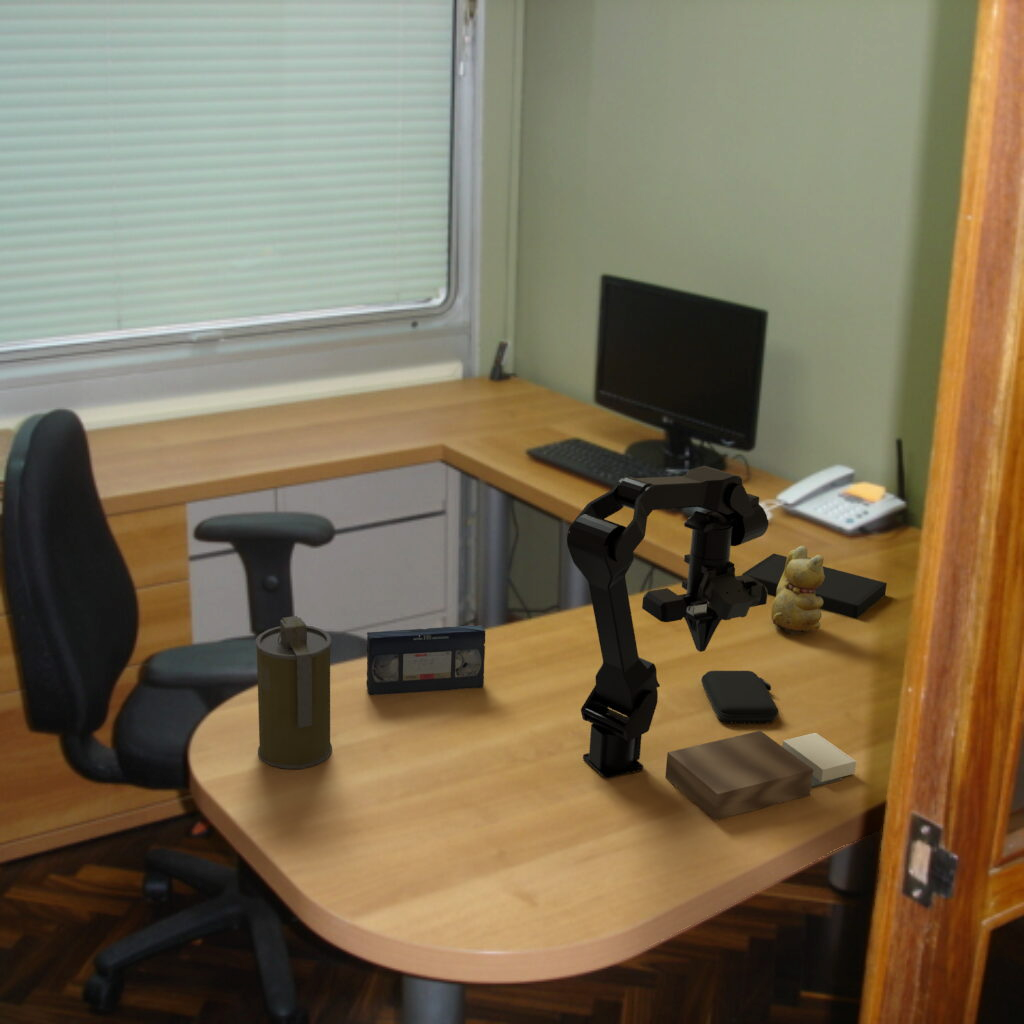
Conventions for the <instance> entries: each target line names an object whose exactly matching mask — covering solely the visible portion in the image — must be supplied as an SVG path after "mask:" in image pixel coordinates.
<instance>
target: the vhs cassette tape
mask: <svg viewBox="0 0 1024 1024" xmlns="http://www.w3.org/2000/svg"><path fill="white" fill-rule="evenodd" d="M366 635H367V636H366V637H367V638H366V642H367V645H366V647H367V648H366V681H365V683H366V690H367V694H368V695H369V696H381V695H382V696H385V695H395V694H397V695H399V694H410V693H411V694H413V693H415V694H416V693H423V692H424V693H425V692H426V693H427V692H443V691H456V690H468V689H470V690H471V689H482V688H484V686H485V685H484V683H485V655H486V646H485V645H486V630H485V627H484V626H483V624H479V625H459V626H443V627H442V626H441V627H429V628H413V629H411V628H410V629H409V628H408V629H395V630H386V631H385V630H384V631H371V632H370V631H368V632H367V633H366Z"/></svg>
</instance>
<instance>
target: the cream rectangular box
mask: <svg viewBox="0 0 1024 1024" xmlns="http://www.w3.org/2000/svg"><path fill="white" fill-rule="evenodd" d="M781 746H782V747H783V748H785V749H786V750H787V751H789V752H790V753H791V754H793V755H794V756H796V757H797V758H798V759H800V760H801V761H802V762H804V763H805V764H806V765H808V766H809V767H810V768H812V769H813V776H814V777H815V778H816V779H818V780H819V781H820V782H824V781H828V780H832V779H835V778H839V777H841V778H842V777H846V776H850V775H854V774H855V772H856V766H857V765H856V764H857V760H855V759H854V758H853V757H852V756H850V755H848V754H847V753H845V752H844V751H843V750H841V749H840V748H838V747H837V746H835V744H832V743H831V742H830V741H828V740H827V739H825V737H823V736H821V735H819V733H817V732H813V733H808V734H804V735H801V736H796V737H792V738H787V739H783V740H782V745H781Z"/></svg>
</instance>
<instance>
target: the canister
mask: <svg viewBox="0 0 1024 1024" xmlns="http://www.w3.org/2000/svg"><path fill="white" fill-rule="evenodd" d="M279 622H280V623H279V625H280V626H276V627H272V628H269V629H266V630H265V631H262V633H260V634H259V635H258V636H257V637H256V639H255V642H254V643H255V644H254V645H255V647H256V667H257V668H256V670H257V698H258V700H257V701H258V703H257V705H258V732H259V733H258V737H259V738H258V739H259V740H258V741H259V742H258V743H259V744H258V745H259V746H258V748H257V753H258V754H257V755H258V757H259V758H260V760H261V761H262V762H264V763H266V764H267V765H269V766H271V767H275V768H279V769H289V770H290V769H291V770H301V769H305V768H310V767H315V766H317V765H319V764H321V763H323V762H324V761H326V760H327V759H329V758H330V756H331V754H332V750H333V746H332V743H331V646H332V643H333V641H332V637H331V635H330V634H329V633H328V632H327V631H325V630H323V629H322V628H319V627H316V626H313V625H307V624H306V622H305V621H303V619H302V618H301V617H298V616H297V615H293V616H287V617H281V618H280V621H279Z"/></svg>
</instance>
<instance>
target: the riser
mask: <svg viewBox="0 0 1024 1024" xmlns="http://www.w3.org/2000/svg"><path fill="white" fill-rule="evenodd" d="M812 777H813V769H812V768H810V767H809V766H808V765H806V764H805V763H804V762H802V761H801V760H800V759H798V758H797V757H796V756H794V755H793V754H791V753H790V752H789V751H787V750H786V749H785V748H783V747H782V745H780V744H779V743H778V742H776V741H775V740H774V739H773V738H771V737H770V736H768V735H767V734H766V733H764V732H763V731H762V730H757V731H753V732H752V731H751V732H749V733H744V734H739V735H736V736H731V737H727V738H723V739H718V740H715V741H709V742H706V743H701V744H698V745H697V744H696V745H692V746H688V747H685V748H684V747H683V748H679V749H675V750H672V751H668V752H667V756H666V767H665V778H666V780H668V781H669V782H670V783H671V784H672V785H674V787H676V789H678V790H679V791H680V792H682V794H684V795H685V796H686V797H687V798H688V799H689V800H690V801H692V802H693V803H694V804H695V805H697V807H699V808H700V809H701V810H703V812H704V813H705V814H707V815H708V816H709V817H710V818H711V819H712V820H714V821H717V820H721V819H726V818H729V817H733V816H737V815H740V814H744V813H747V812H752V811H756V810H759V809H762V808H766V807H767V808H768V807H771V806H774V805H778V804H782V803H786V802H789V801H793V800H796V799H800V798H804V797H808V796H809V797H810V796H811V792H812V788H811V784H812Z"/></svg>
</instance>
